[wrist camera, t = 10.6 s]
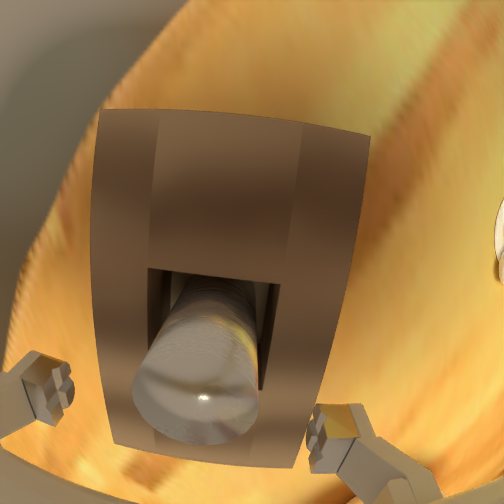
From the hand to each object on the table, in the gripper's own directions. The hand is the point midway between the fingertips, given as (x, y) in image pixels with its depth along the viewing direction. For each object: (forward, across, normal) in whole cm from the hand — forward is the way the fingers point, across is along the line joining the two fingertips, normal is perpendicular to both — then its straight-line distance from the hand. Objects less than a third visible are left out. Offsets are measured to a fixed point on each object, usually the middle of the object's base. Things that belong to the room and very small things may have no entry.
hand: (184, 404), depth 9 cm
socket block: (+12, 0, +1) cm, 12 cm away
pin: (+11, 0, +1) cm, 11 cm away
